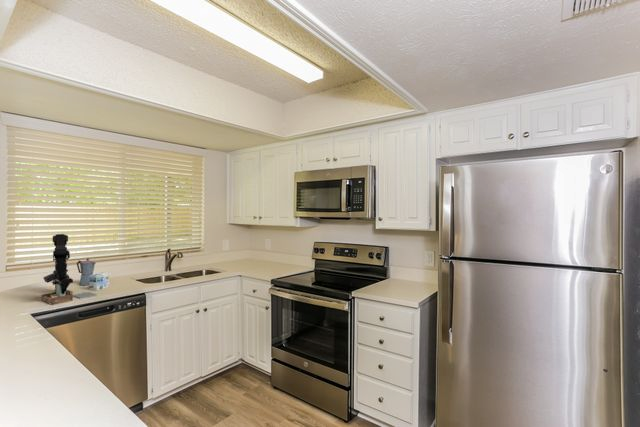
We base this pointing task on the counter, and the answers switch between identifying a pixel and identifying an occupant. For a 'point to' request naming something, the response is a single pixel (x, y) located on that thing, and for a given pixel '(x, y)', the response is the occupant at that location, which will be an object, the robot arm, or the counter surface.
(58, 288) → the grey-green rectangular block
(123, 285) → the counter surface
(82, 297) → the mat
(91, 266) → the moka pot
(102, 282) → the light bulb box
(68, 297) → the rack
